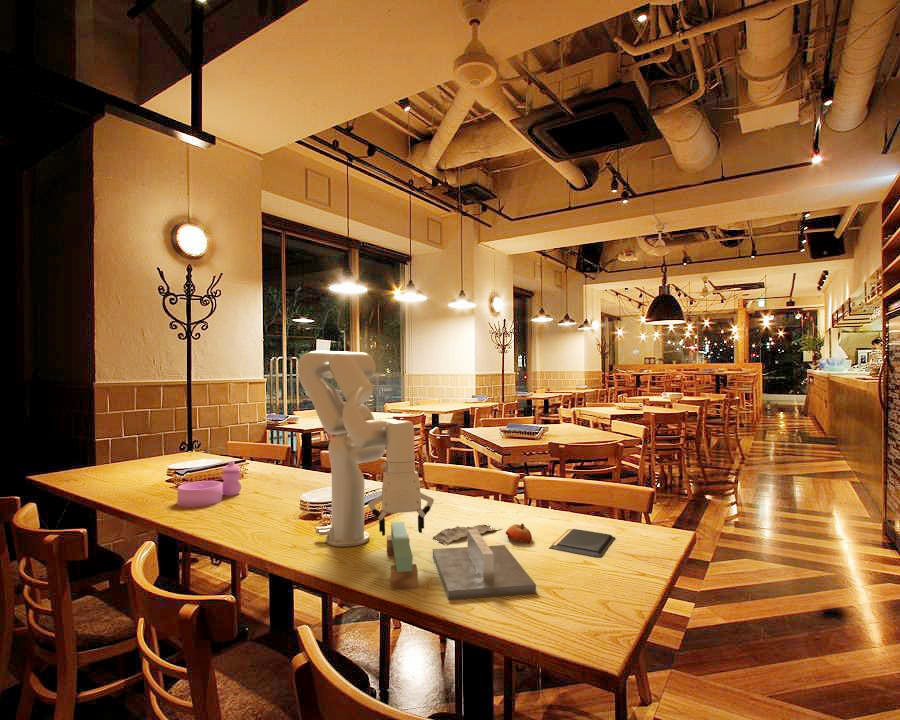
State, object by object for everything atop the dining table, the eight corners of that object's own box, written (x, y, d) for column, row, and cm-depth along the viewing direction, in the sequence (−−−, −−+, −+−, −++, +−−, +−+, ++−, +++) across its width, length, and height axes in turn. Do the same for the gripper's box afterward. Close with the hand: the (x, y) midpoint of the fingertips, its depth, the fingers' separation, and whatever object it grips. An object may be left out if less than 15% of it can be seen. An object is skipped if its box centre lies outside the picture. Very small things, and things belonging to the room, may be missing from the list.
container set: (194, 509, 180) (194, 472, 180) (168, 504, 187) (169, 468, 188) (251, 494, 202) (252, 462, 202) (226, 490, 209) (227, 458, 210)
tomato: (525, 542, 142) (512, 519, 146) (508, 555, 144) (496, 532, 148) (539, 539, 148) (527, 517, 152) (523, 551, 150) (511, 530, 154)
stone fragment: (429, 543, 148) (454, 551, 141) (429, 534, 148) (454, 541, 141) (481, 523, 167) (506, 529, 160) (481, 514, 167) (506, 520, 160)
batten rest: (391, 590, 114) (391, 572, 114) (386, 549, 139) (386, 535, 140) (417, 588, 115) (417, 570, 115) (408, 548, 140) (408, 534, 140)
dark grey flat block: (600, 553, 133) (546, 543, 141) (600, 561, 133) (546, 550, 141) (618, 533, 151) (568, 525, 158) (618, 539, 150) (568, 531, 158)
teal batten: (397, 572, 114) (397, 556, 114) (391, 535, 140) (391, 522, 140) (412, 571, 115) (412, 555, 115) (403, 534, 140) (403, 522, 140)
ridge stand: (448, 600, 109) (448, 563, 109) (432, 556, 134) (432, 526, 135) (536, 593, 112) (536, 557, 112) (504, 552, 138) (504, 523, 138)
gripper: (367, 471, 127) (368, 539, 126) (434, 468, 130) (436, 534, 129) (367, 466, 135) (368, 531, 134) (431, 463, 138) (432, 526, 137)
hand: (401, 532), depth 132 cm, fingers open, 9 cm apart
